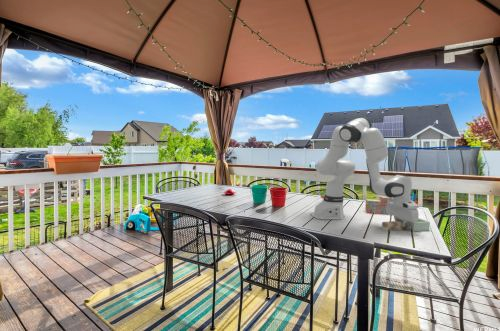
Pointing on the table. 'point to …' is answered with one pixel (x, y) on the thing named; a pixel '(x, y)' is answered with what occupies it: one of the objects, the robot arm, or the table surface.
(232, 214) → the table surface
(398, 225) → the scraper
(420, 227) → the box
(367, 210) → the stack of blocks
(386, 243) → the table surface
